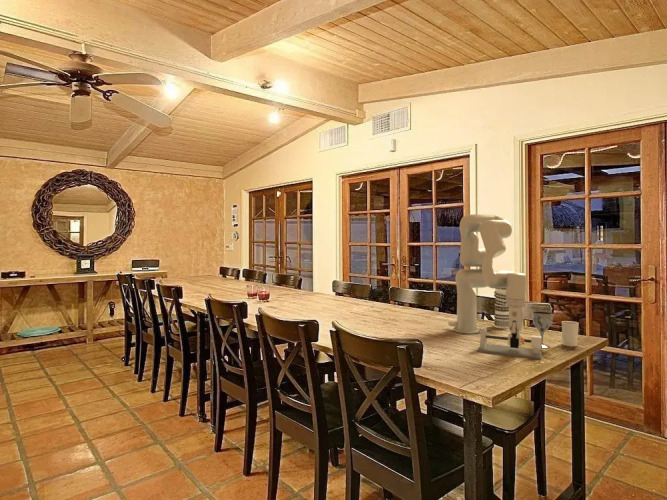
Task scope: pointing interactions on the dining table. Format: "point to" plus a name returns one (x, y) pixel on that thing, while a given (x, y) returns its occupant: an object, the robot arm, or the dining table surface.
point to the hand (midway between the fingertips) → (514, 346)
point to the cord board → (509, 351)
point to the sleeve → (518, 337)
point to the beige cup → (569, 333)
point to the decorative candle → (501, 309)
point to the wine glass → (542, 323)
